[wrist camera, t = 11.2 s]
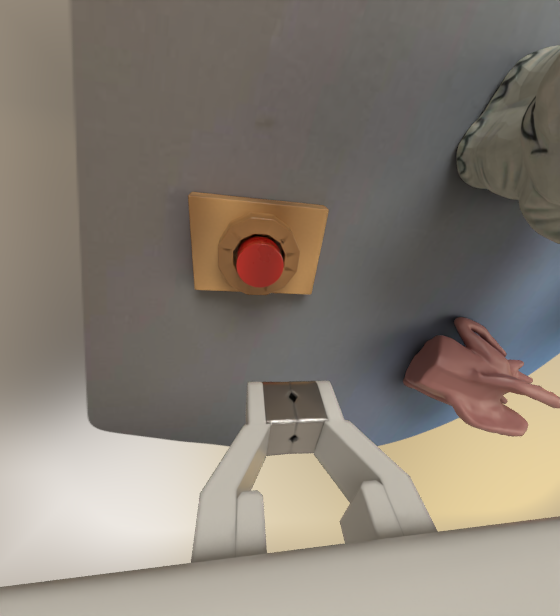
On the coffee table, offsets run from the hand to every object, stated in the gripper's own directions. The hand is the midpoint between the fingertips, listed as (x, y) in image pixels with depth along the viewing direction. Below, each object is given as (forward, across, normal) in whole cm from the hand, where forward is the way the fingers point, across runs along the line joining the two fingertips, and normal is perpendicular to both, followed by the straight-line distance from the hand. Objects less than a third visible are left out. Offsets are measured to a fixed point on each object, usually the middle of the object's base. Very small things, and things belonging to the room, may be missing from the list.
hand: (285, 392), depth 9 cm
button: (+13, 0, 0) cm, 14 cm away
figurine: (+17, -27, +14) cm, 35 cm away
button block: (+17, 0, 0) cm, 17 cm away
